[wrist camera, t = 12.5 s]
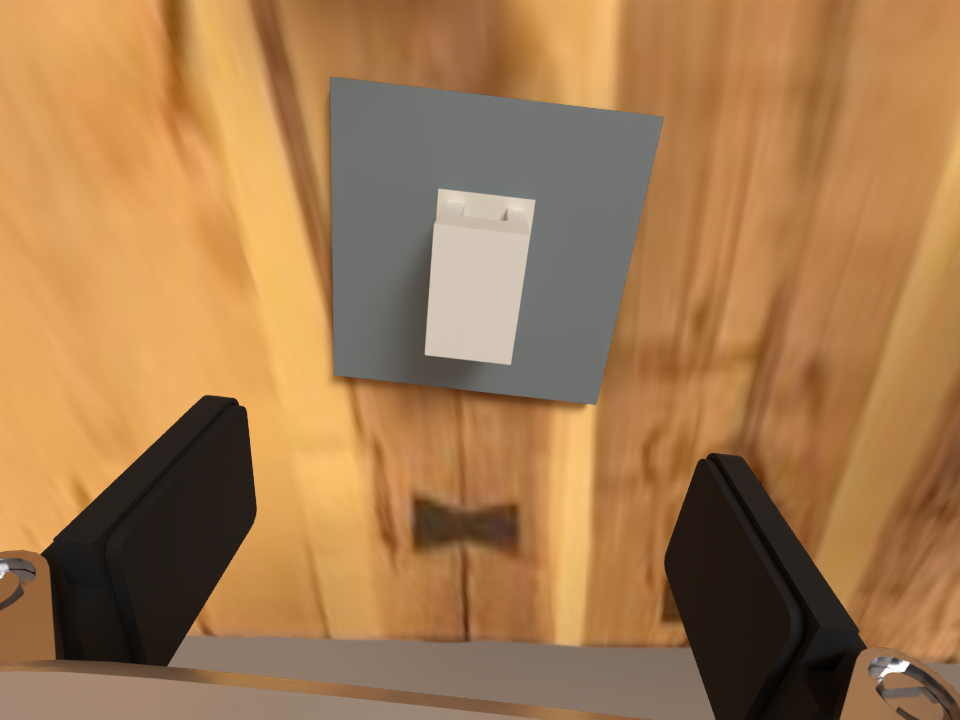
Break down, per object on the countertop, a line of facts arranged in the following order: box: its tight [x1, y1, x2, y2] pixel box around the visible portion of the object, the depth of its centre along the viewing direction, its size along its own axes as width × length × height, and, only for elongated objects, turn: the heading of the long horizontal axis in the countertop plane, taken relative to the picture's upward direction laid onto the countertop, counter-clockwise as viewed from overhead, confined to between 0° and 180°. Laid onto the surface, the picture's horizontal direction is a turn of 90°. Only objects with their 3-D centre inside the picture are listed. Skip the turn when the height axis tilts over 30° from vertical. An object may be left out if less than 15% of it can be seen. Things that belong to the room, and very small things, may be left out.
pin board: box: [330, 77, 664, 405], centre depth 28 cm, size 16×16×4 cm
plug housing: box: [425, 201, 530, 365], centre depth 26 cm, size 4×6×6 cm, turn 174°
